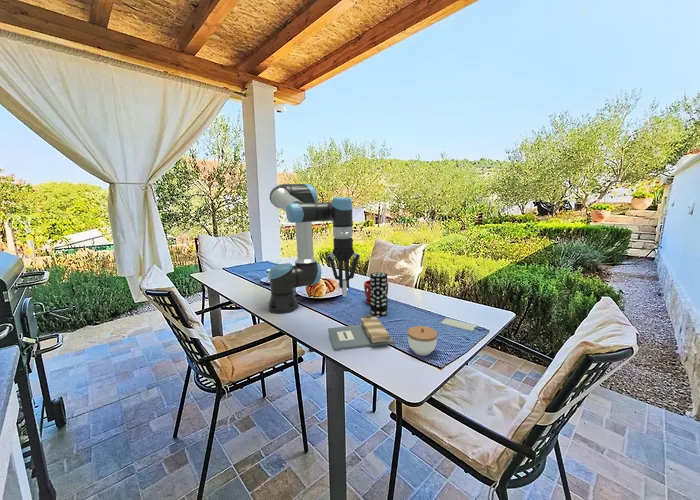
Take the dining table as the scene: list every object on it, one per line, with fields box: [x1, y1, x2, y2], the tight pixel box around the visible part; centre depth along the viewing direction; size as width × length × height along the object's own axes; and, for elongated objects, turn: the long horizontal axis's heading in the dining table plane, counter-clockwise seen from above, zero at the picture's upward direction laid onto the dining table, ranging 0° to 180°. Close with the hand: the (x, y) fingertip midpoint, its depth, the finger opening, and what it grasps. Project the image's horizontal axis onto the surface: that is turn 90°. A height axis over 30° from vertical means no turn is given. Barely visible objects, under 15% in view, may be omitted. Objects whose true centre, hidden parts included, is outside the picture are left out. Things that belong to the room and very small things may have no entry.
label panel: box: [328, 324, 395, 351], centre depth 123 cm, size 18×24×2 cm
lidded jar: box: [407, 325, 438, 357], centre depth 109 cm, size 11×11×9 cm
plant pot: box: [363, 279, 389, 306], centre depth 161 cm, size 13×13×12 cm
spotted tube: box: [369, 272, 388, 318], centre depth 145 cm, size 8×8×20 cm
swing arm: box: [360, 313, 391, 343], centre depth 123 cm, size 22×7×3 cm, turn 11°
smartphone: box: [439, 317, 479, 332], centre depth 132 cm, size 7×1×15 cm
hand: (344, 295), depth 118 cm, fingers closed
